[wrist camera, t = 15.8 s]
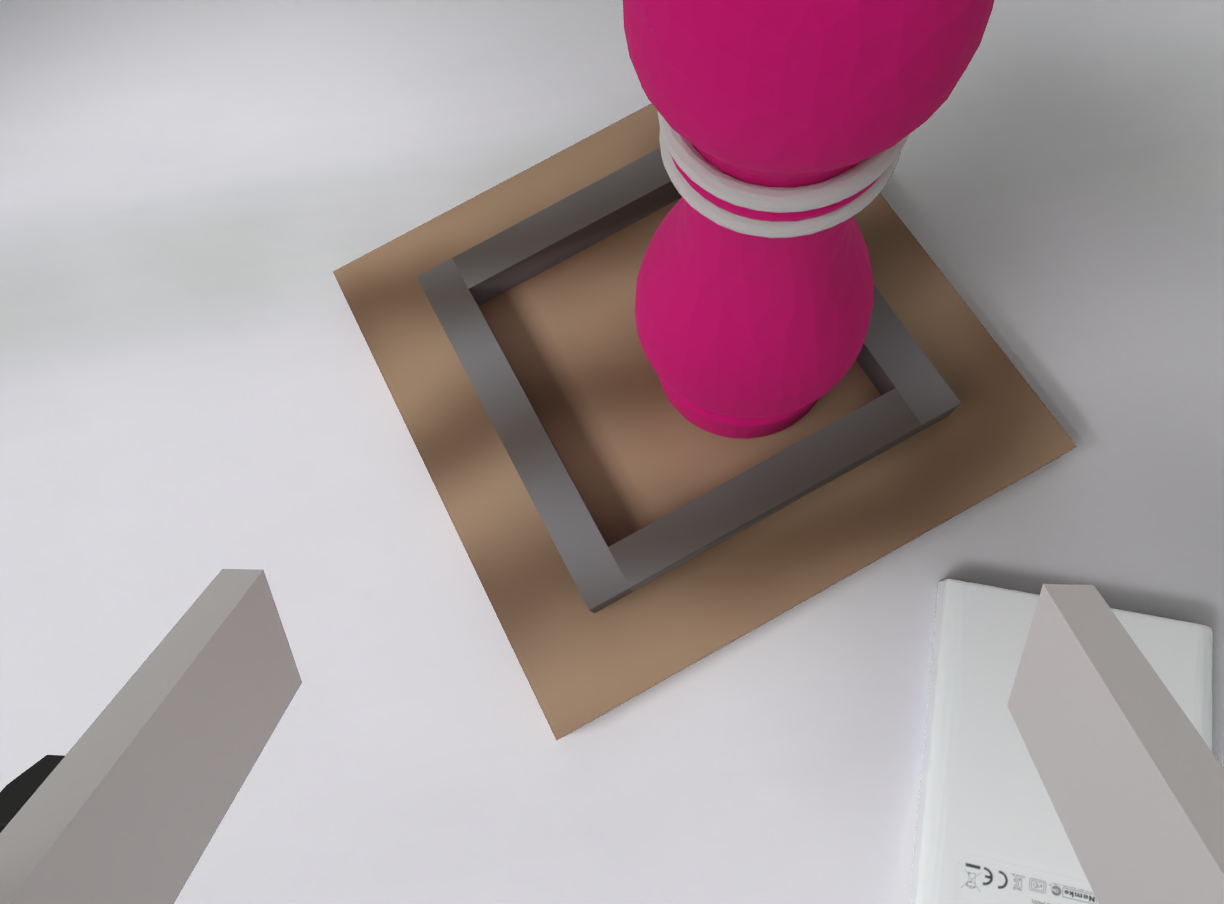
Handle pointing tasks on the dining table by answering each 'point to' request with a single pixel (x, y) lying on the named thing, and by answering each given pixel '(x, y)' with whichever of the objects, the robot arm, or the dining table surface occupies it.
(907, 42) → the pepper mill
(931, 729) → the external hard drive
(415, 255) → the pocket board
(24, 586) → the dining table surface
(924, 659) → the dining table surface
